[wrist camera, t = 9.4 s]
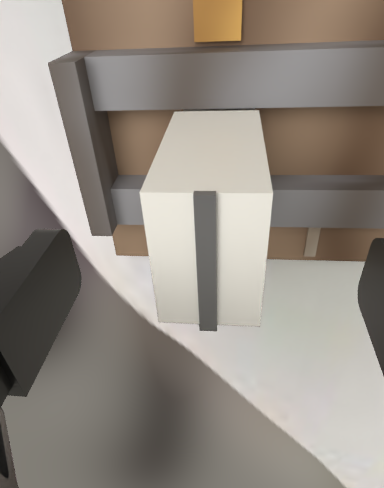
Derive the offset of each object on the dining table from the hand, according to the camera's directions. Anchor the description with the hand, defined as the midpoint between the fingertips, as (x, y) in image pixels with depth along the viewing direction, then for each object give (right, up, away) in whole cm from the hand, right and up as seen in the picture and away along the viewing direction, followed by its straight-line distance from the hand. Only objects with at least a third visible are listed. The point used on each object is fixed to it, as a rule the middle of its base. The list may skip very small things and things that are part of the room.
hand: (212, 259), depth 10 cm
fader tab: (+1, +5, +7) cm, 9 cm away
